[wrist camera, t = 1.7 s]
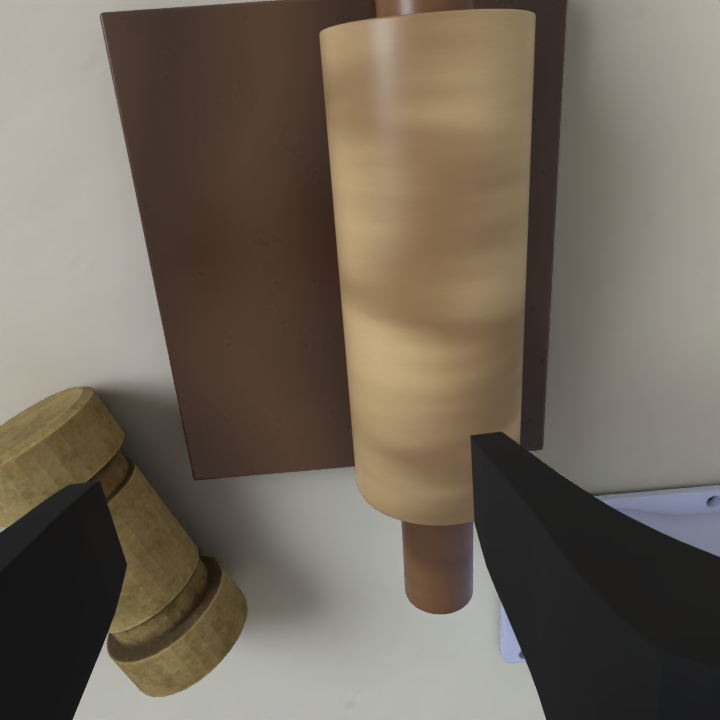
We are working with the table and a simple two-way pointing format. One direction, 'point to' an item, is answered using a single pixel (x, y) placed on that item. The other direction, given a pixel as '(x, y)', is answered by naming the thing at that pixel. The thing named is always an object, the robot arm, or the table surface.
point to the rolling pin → (430, 259)
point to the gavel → (127, 542)
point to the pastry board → (277, 222)
